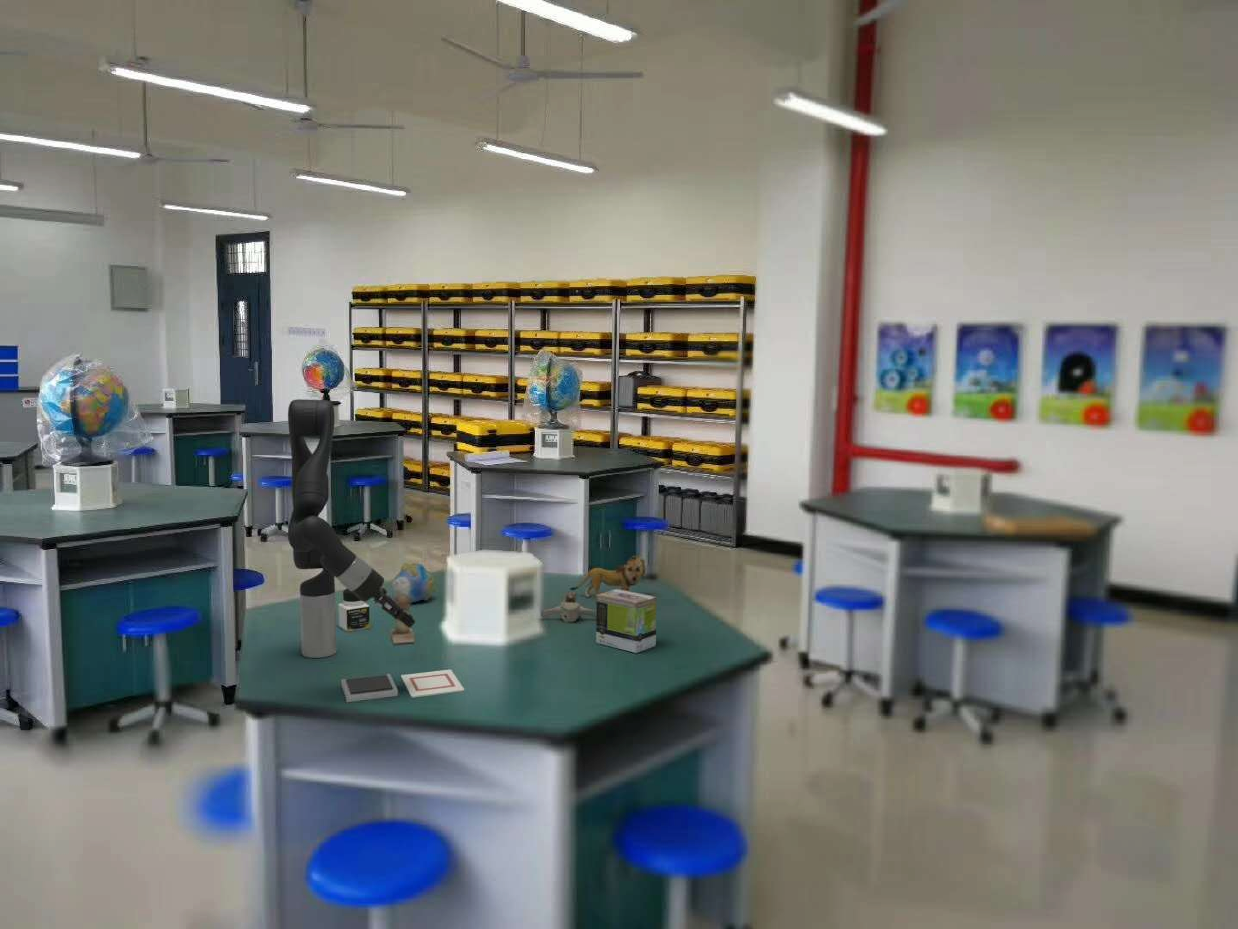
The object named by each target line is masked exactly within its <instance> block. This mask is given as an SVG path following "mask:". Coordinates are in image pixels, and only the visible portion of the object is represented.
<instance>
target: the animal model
mask: <svg viewBox="0 0 1238 929" xmlns="http://www.w3.org/2000/svg"><path fill="white" fill-rule="evenodd" d="M646 570H647V568H646V564H645V559H644V558H642V557H640V556H637V555H633V556H632V557H631V558H629V559H628V561H626V562H625V563H623V564H621V565H620V566H618V567H617V568H616V569H614V570H608V569H604V568H601V567H594V568H592V569H590V570H589V571H588V573H587V574H586V575H585V577H584V578H583V579H582V580H581V581H580V583H579V584H578V585H577V586H575V587H570V588H569V590H571V591H576V590H578V588H580V587H581V586H583V585H584V584H585V583H586V581H588V579H589V578H590V581H589V583H588V584H587V585H586V586H585V592H584V594H585V597H586V598H588V597H590V598H591V597H592V594H591V593H590V590H592V589H593V592H592V593H593V595H594V596H595V598H596V599H597V595H598V594H599V590H600V588H601V583H603V584H605V585H606V586H608V587H621V590H625V591H629V590H630V587H633V586H637V584H638V583H639V582H640V581H641V580H642V579H643V578H644V576H645V574H646Z"/></svg>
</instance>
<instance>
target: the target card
mask: <svg viewBox="0 0 1238 929" xmlns="http://www.w3.org/2000/svg"><path fill="white" fill-rule="evenodd" d="M400 677H401V679H402V681H403V683H404V685H405V687H406V690H407V691H408V693H409V695H410V697H411V698H413V699H414V698H420V697H429V696H438V695H445V694H455V693H460V692H461V693H462V692H465V688H464V686H462V684H461V682H460V680H458V678H457V676H456V675H455V673H454V672H453V670H452V669H444V670H434V671H426V672H417V673H409V674H401V675H400Z"/></svg>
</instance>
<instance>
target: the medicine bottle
mask: <svg viewBox="0 0 1238 929" xmlns="http://www.w3.org/2000/svg"><path fill="white" fill-rule="evenodd" d="M342 595H343V597H342V600H343V602H341V603H339V604H338V626H339V627H340V628H341V629H343V630H344V631H346V632H347V633H348V632H354V631H359V630H365V629H366V630H367V629H370V628H371V627H370V626H371V625H370V623H371V622H370V605H369V604H367V603H366V602H363V601H361V600H360V599H359V598H358V597H357V596H355V595H354V594H353V593H352V592H351V591H350V590H348V589H347V588H345V589H343V592H342Z"/></svg>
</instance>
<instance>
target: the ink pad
mask: <svg viewBox="0 0 1238 929" xmlns="http://www.w3.org/2000/svg"><path fill="white" fill-rule="evenodd" d="M341 689H342V691H343V694H344V697H345V700H346V703H350V702H359V701H360V702H361V701H367V700H376V699H383V698H391V697H393V698H394V697H398V695H399V692H398V687H397V686H396V684H395V680H394V679H393V677H392V675H391V673H386V674H379V675H377V674H376V675H370V676H361V677H353V678H352V677H351V678H345V679H344V678H343V679H341Z"/></svg>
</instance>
